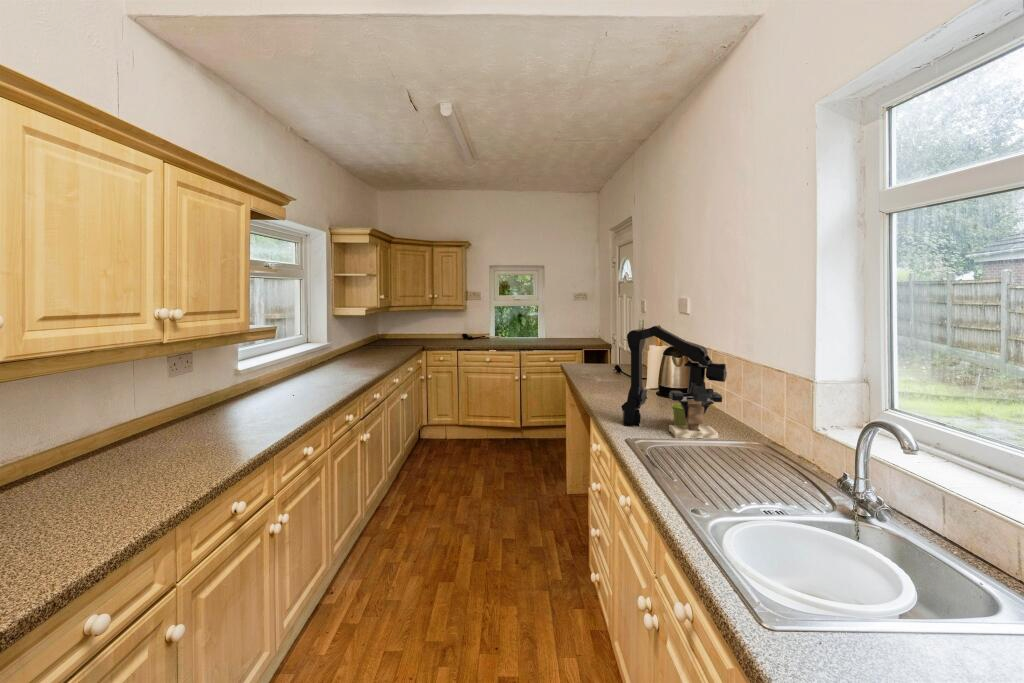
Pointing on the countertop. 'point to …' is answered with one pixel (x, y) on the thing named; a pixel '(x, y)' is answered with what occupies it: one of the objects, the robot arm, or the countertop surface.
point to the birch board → (692, 432)
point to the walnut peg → (694, 415)
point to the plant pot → (679, 415)
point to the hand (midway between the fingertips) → (693, 417)
